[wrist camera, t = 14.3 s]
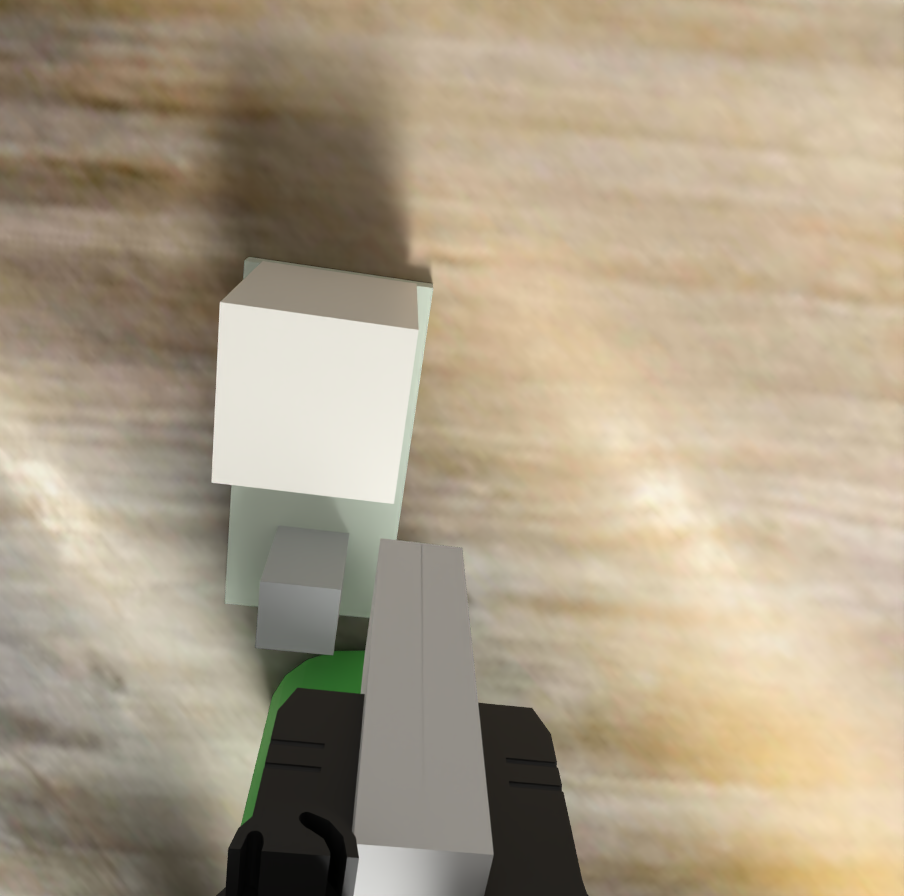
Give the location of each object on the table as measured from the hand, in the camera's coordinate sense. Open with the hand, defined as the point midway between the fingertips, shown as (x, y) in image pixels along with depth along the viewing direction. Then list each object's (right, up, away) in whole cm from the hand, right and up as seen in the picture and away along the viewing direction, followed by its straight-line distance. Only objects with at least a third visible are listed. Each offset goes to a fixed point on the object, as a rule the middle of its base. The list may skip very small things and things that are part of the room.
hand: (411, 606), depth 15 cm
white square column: (-4, +7, +20) cm, 21 cm away
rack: (-5, +3, +23) cm, 24 cm away
